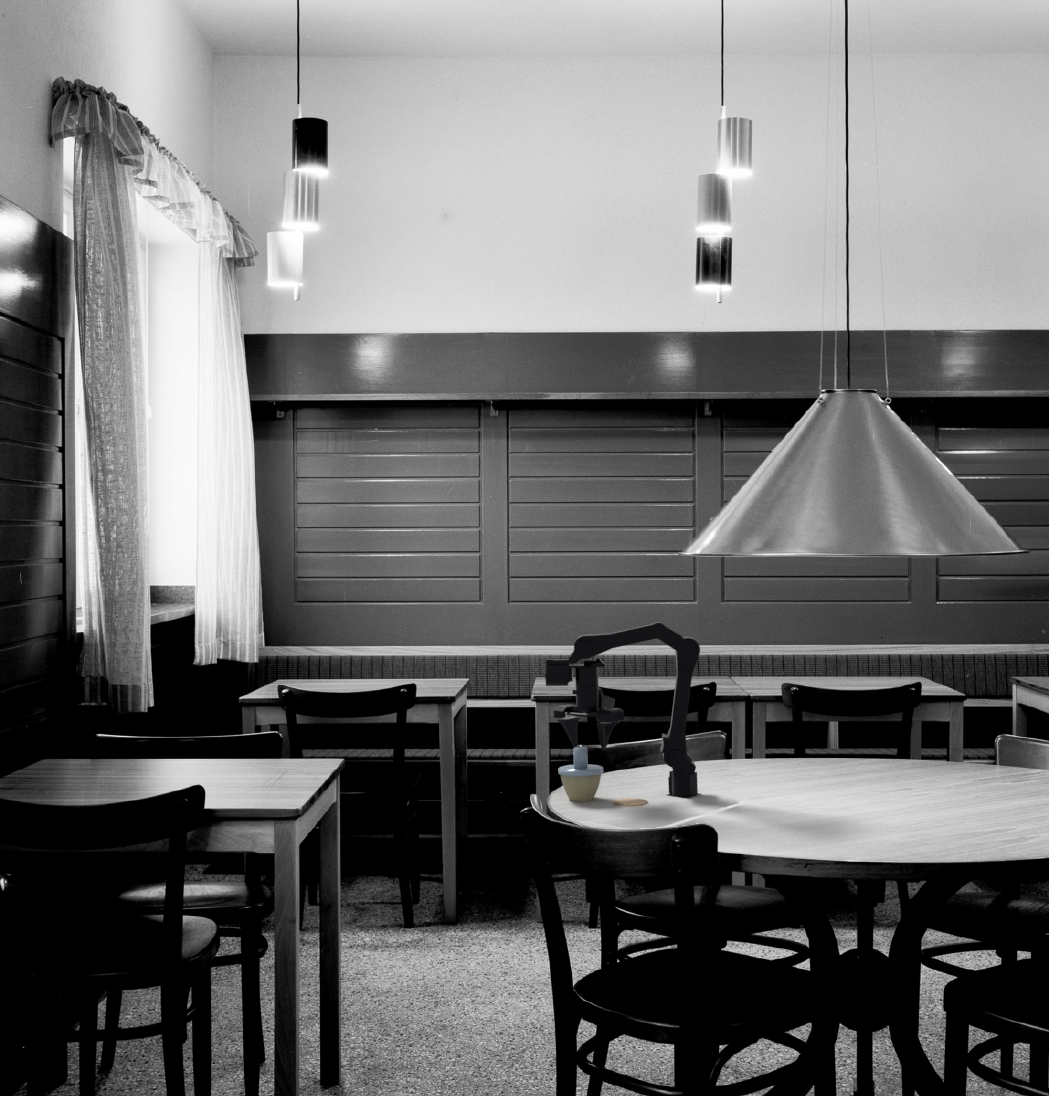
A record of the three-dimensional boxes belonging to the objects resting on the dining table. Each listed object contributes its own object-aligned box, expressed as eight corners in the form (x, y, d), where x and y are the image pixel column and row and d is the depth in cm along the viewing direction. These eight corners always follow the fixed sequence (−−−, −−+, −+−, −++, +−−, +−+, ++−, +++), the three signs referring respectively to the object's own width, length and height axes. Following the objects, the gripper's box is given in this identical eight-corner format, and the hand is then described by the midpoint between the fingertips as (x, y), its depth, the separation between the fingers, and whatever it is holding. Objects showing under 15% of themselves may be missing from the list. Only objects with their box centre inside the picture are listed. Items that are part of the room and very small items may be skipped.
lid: (612, 771, 281) (611, 746, 281) (583, 778, 273) (582, 753, 273) (578, 766, 289) (578, 742, 289) (549, 773, 281) (548, 748, 281)
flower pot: (587, 807, 274) (586, 777, 274) (553, 802, 280) (552, 773, 280) (609, 799, 282) (608, 770, 282) (576, 795, 288) (575, 767, 288)
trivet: (656, 803, 276) (656, 801, 276) (632, 810, 269) (632, 807, 269) (627, 799, 282) (627, 796, 282) (603, 805, 275) (603, 802, 275)
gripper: (636, 683, 284) (639, 746, 284) (579, 680, 297) (581, 740, 297) (608, 688, 276) (611, 753, 276) (550, 684, 289) (553, 746, 289)
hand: (589, 747), depth 285 cm, fingers open, 9 cm apart
